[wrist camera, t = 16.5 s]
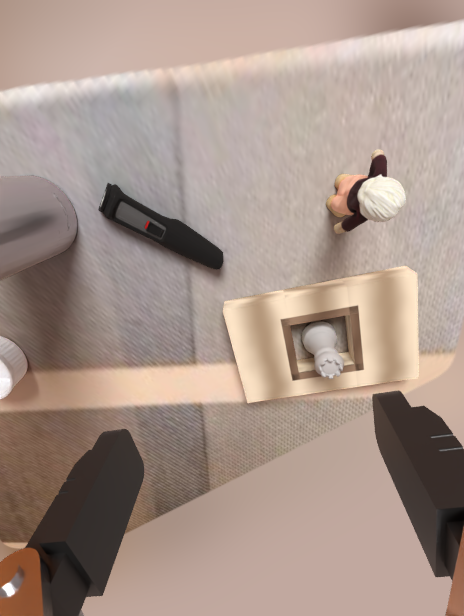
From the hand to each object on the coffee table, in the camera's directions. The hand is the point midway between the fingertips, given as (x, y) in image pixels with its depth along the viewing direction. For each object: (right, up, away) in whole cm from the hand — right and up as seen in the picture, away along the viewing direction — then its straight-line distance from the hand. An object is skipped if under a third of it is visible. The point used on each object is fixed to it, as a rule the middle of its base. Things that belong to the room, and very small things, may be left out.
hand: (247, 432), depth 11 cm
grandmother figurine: (+12, +17, +25) cm, 32 cm away
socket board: (+11, +1, +32) cm, 34 cm away
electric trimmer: (-9, +14, +28) cm, 32 cm away
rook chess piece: (+11, +1, +32) cm, 34 cm away
